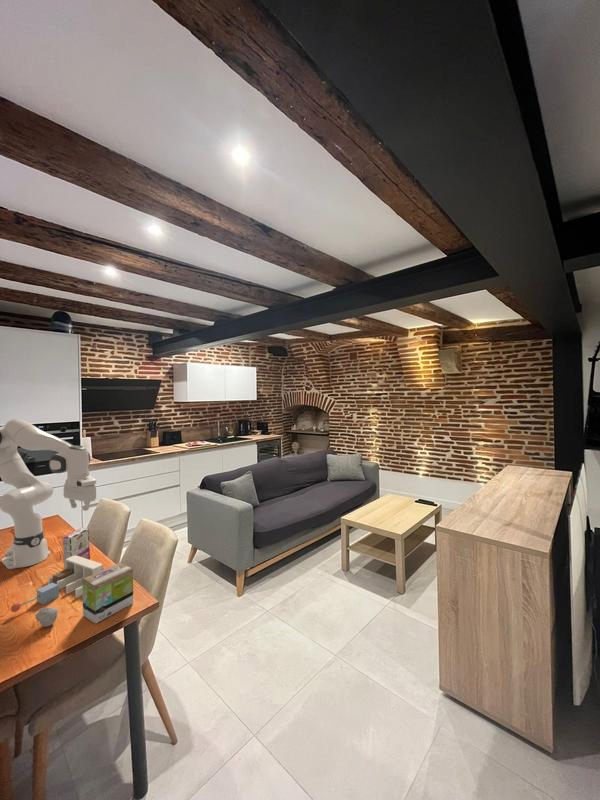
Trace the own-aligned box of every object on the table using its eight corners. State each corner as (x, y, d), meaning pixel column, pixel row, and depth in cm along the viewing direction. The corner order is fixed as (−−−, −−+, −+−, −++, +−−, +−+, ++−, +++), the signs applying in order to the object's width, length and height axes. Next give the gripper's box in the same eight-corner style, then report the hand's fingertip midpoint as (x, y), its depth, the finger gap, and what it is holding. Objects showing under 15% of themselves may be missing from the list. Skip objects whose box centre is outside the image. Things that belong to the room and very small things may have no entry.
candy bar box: (82, 558, 178) (80, 527, 177) (90, 559, 177) (89, 528, 176) (63, 570, 167) (61, 536, 166) (71, 570, 166) (70, 537, 165)
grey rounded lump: (33, 627, 126) (33, 608, 126) (56, 617, 131) (55, 599, 131) (37, 634, 122) (36, 615, 121) (61, 624, 127) (60, 606, 127)
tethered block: (8, 615, 133) (7, 603, 132) (52, 593, 147) (52, 582, 147) (14, 619, 131) (13, 606, 130) (58, 596, 145) (58, 585, 145)
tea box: (96, 625, 126) (94, 585, 126) (82, 616, 131) (81, 578, 131) (134, 603, 139) (133, 567, 138) (120, 595, 144) (119, 561, 144)
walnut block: (52, 585, 153) (52, 574, 153) (67, 579, 158) (66, 568, 158) (58, 588, 151) (58, 577, 151) (72, 581, 156) (72, 570, 156)
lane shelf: (48, 585, 153) (47, 566, 153) (75, 573, 163) (75, 555, 163) (76, 597, 143) (75, 577, 143) (103, 583, 154) (103, 564, 154)
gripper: (58, 479, 164) (60, 508, 164) (84, 483, 154) (86, 514, 155) (72, 476, 169) (73, 504, 170) (98, 480, 160) (99, 509, 160)
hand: (79, 508), depth 162 cm, fingers open, 8 cm apart
